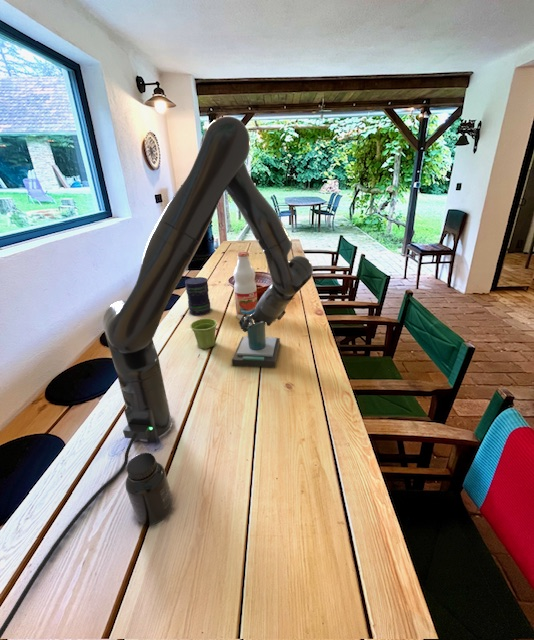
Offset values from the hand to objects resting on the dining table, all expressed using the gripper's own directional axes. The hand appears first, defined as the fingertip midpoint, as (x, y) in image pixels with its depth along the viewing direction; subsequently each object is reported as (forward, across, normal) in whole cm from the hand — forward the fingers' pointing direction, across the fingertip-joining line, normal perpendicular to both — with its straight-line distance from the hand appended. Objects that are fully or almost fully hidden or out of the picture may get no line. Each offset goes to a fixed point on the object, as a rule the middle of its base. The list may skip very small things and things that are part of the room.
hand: (255, 326), depth 107 cm
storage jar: (+42, +5, -27) cm, 50 cm away
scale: (+8, 0, +7) cm, 11 cm away
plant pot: (+19, +13, -4) cm, 24 cm away
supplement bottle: (-21, +42, +37) cm, 60 cm away
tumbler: (+6, 0, +5) cm, 8 cm away
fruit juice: (+31, -11, -15) cm, 36 cm away
